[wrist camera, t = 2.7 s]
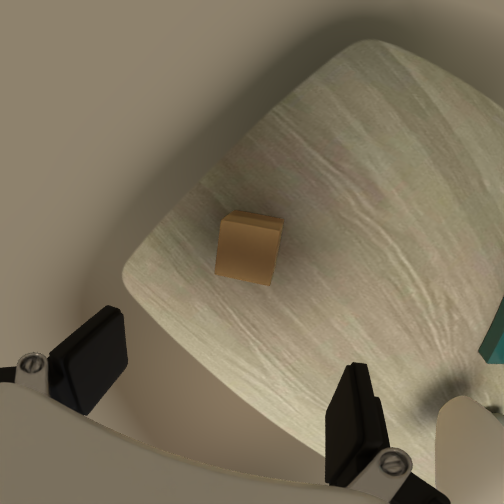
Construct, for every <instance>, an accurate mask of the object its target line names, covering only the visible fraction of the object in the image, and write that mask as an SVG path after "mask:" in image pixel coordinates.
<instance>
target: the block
mask: <svg viewBox="0 0 504 504" xmlns="http://www.w3.org/2000/svg"><path fill="white" fill-rule="evenodd" d="M283 224H284V219H281V218H276V217H271V216H265V215H260V214H255V213H249V212H244V211H238V210H234V211H232V212H231V213H230V214H228V215H227V216H226V217H224V218H223V219H222V220H221V224H220V232H219V240H218V248H217V256H216V265H215V274H216V275H220V276H225V277H229V278H234V279H238V280H243V281H248V282H252V283H257V284H262V285H267V286H270V284H271V280H272V277H273V273H274V269H275V266H276V261H277V255H278V250H279V245H280V240H281V235H282V229H283Z"/></svg>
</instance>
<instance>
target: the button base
mask: <svg viewBox="0 0 504 504" xmlns="http://www.w3.org/2000/svg"><path fill="white" fill-rule="evenodd" d="M479 353H480V354H481V356H482V357H483V359H484V360H485V361H486V363H487V364H504V298H503V300H502V302H501V305H500V307H499V309H498V312H497V314H496V316H495V318H494V321H493V323H492V325H491V327H490V329H489V331H488V333H487V335H486V337H485V339H484V341H483V343H482V345H481V347H480V349H479Z"/></svg>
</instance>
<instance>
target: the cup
mask: <svg viewBox="0 0 504 504" xmlns="http://www.w3.org/2000/svg"><path fill="white" fill-rule="evenodd" d="M435 485H436V489H437V490H438V491H440V492H441V493H443V494H445V495H446V496H447V497H448V498H449V500H450V502H451V504H504V426H503V425H502V424H501V423H500V422H499V421H498V420H497V419H496V417H495V416H494V415H493V414H492V413H491V412H490V411H488V410H487V409H486V408H484V407H483V406H482V405H481V404H479V403H478V402H477V401H475V400H473V399H471V398H469V397H468V396H464V395H462V396H457V397H455V398H453V399H451V400H450V401H448V402H447V403H446V404H444V406H443V407H442V408H441V409H440V411H439V413H438V417H437V424H436V437H435Z"/></svg>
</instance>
